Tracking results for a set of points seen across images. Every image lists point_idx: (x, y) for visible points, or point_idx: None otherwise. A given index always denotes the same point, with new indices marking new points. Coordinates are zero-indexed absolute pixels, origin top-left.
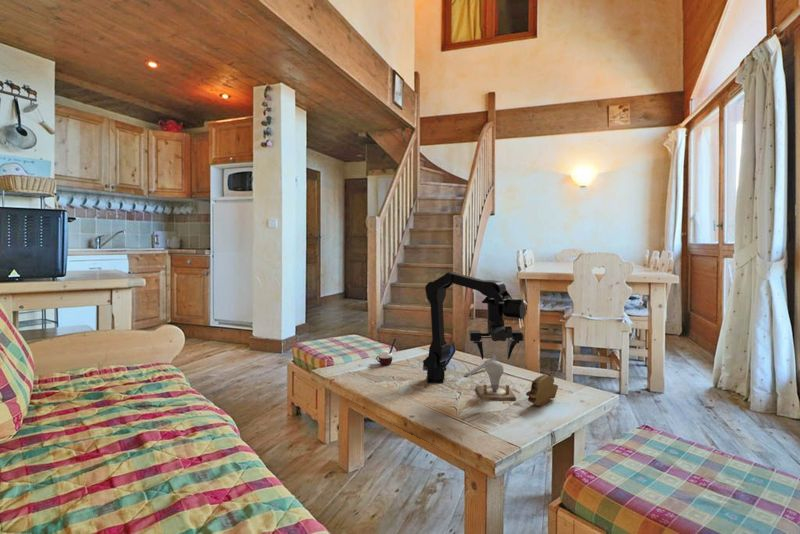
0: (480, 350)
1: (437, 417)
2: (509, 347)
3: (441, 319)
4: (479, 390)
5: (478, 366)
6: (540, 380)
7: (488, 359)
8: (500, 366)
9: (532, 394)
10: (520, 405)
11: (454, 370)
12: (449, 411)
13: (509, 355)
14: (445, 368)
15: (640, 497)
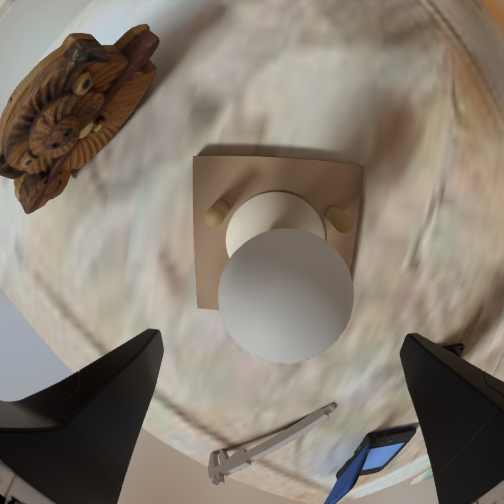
0: (482, 375)
1: (491, 59)
2: (88, 417)
3: None
4: (347, 254)
5: (276, 446)
6: (48, 59)
7: (235, 469)
8: (251, 266)
9: (130, 35)
10: (191, 96)
11: (343, 436)
12: (470, 85)
13: (130, 346)
14: (370, 437)
15: None
